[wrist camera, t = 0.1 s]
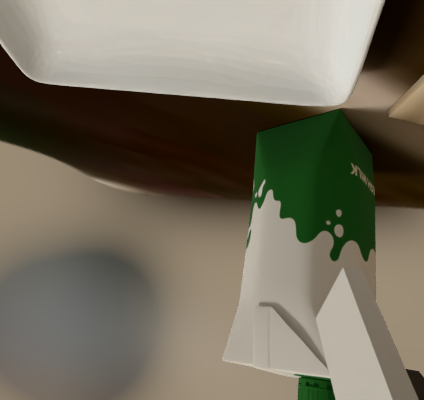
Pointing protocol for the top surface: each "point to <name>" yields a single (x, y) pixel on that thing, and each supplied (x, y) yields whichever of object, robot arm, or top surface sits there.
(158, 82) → the salad plate
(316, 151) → the fresh milk carton
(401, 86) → the top surface
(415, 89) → the wooden frame stand
